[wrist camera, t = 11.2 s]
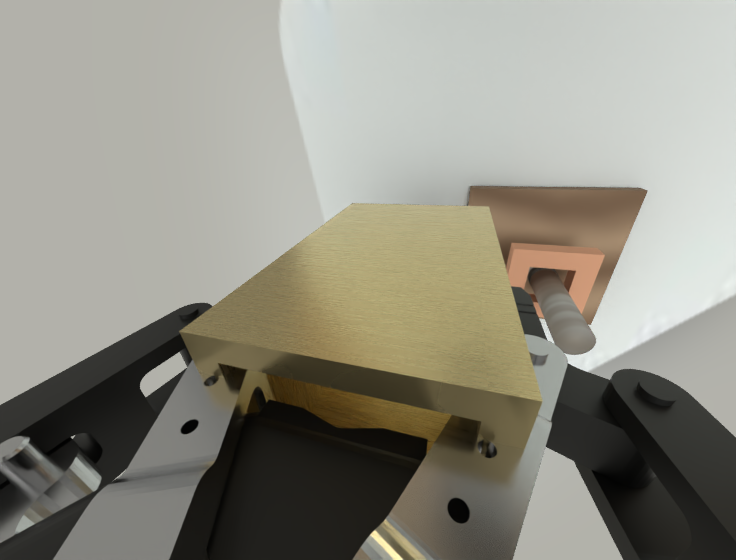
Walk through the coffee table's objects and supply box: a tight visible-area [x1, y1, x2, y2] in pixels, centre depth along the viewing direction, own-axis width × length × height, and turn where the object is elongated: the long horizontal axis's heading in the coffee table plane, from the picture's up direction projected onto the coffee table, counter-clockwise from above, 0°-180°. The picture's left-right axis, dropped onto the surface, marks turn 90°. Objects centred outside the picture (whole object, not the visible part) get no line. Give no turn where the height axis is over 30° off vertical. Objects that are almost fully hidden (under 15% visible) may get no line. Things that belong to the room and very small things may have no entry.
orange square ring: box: [506, 243, 605, 318], centre depth 25 cm, size 6×6×2 cm
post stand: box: [468, 186, 647, 355], centre depth 24 cm, size 14×14×14 cm
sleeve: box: [179, 203, 543, 457], centre depth 9 cm, size 6×6×9 cm
